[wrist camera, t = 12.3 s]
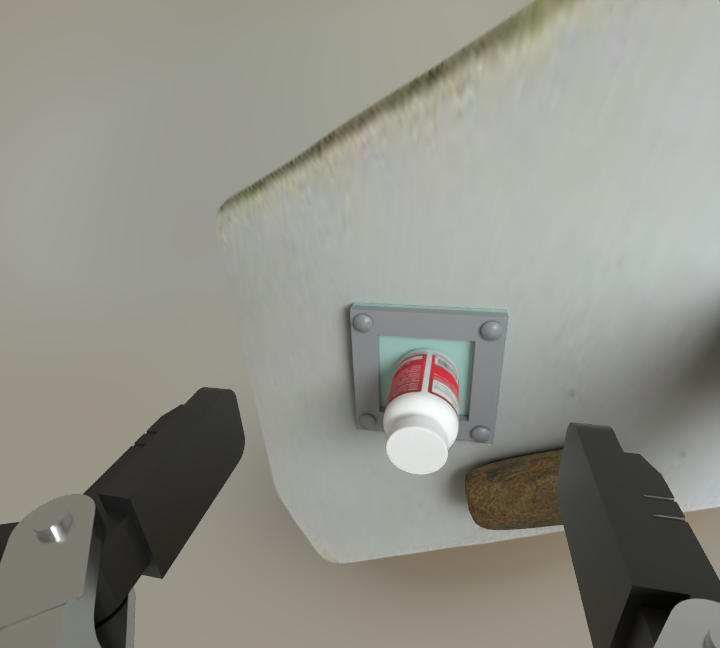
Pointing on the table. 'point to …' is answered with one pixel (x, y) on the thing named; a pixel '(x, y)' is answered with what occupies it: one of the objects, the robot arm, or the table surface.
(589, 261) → the table surface
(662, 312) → the table surface
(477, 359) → the base plate
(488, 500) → the brown textured cylinder
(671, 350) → the table surface
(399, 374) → the pill bottle
